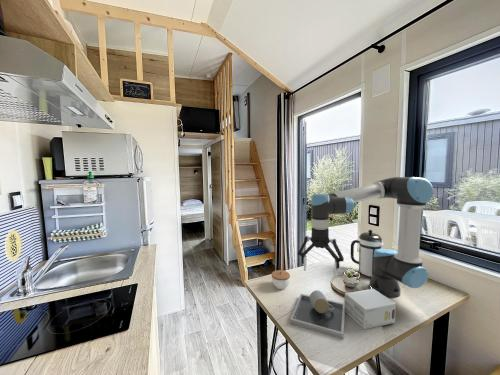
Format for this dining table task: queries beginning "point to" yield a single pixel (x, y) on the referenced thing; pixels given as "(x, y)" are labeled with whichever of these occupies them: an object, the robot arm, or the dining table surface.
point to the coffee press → (366, 251)
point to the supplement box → (370, 308)
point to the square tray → (319, 317)
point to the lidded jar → (280, 279)
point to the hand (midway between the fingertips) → (319, 272)
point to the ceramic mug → (320, 302)
